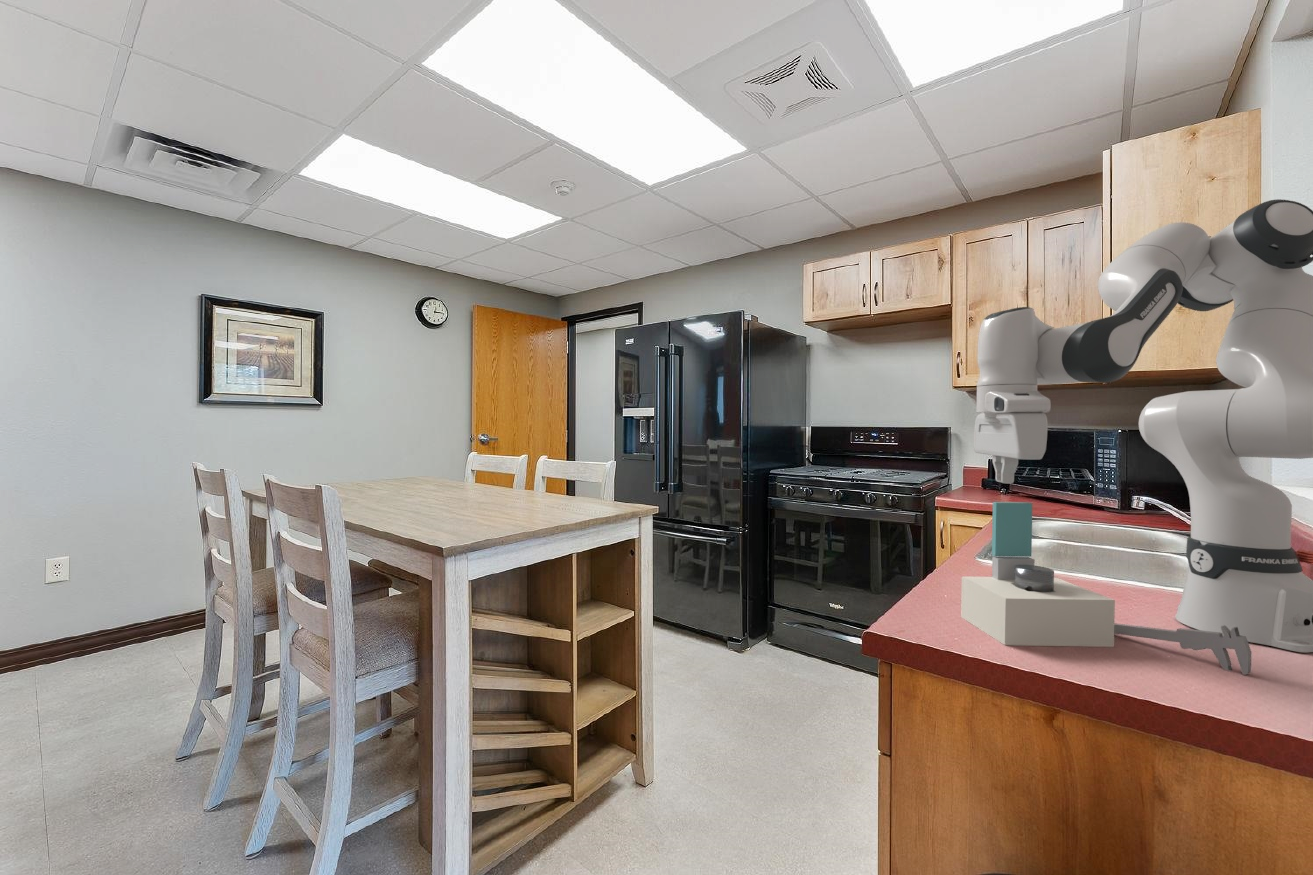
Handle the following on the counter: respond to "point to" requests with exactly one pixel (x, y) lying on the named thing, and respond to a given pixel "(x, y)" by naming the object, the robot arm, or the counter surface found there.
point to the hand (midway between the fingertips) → (1004, 482)
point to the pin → (1034, 578)
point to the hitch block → (1036, 610)
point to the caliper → (1199, 642)
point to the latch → (1012, 529)
